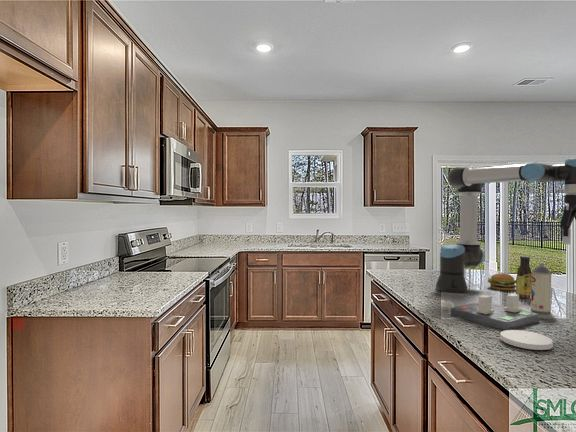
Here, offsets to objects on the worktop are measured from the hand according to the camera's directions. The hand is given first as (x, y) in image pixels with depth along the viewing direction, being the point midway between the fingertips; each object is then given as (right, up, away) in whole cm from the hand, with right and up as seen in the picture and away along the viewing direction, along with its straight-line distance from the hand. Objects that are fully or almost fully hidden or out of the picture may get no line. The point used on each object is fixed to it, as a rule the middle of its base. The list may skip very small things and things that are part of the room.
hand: (573, 243), depth 166 cm
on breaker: (-37, -25, -17) cm, 47 cm away
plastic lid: (-49, -29, -45) cm, 72 cm away
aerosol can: (-18, -28, -6) cm, 34 cm away
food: (-8, -27, +41) cm, 50 cm away
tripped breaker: (-49, -24, -21) cm, 58 cm away
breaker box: (-44, -28, -17) cm, 55 cm away
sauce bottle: (-9, -28, +20) cm, 35 cm away
